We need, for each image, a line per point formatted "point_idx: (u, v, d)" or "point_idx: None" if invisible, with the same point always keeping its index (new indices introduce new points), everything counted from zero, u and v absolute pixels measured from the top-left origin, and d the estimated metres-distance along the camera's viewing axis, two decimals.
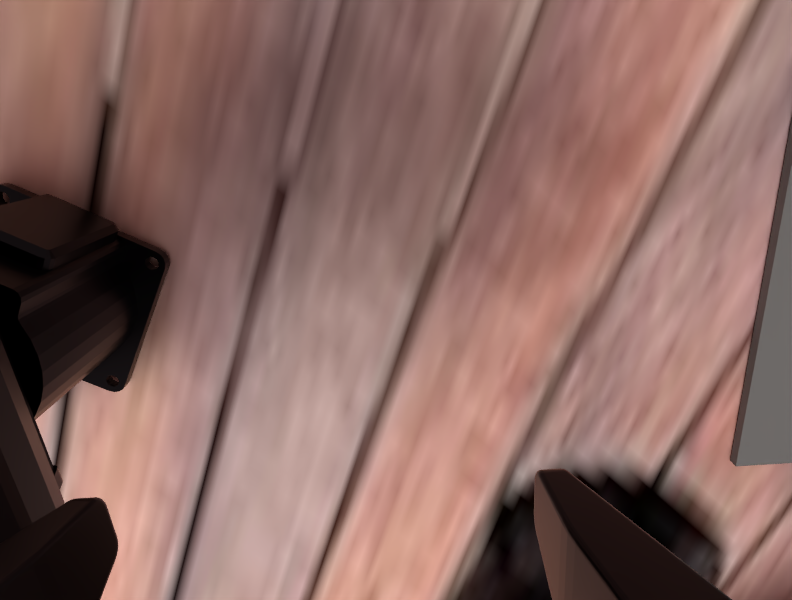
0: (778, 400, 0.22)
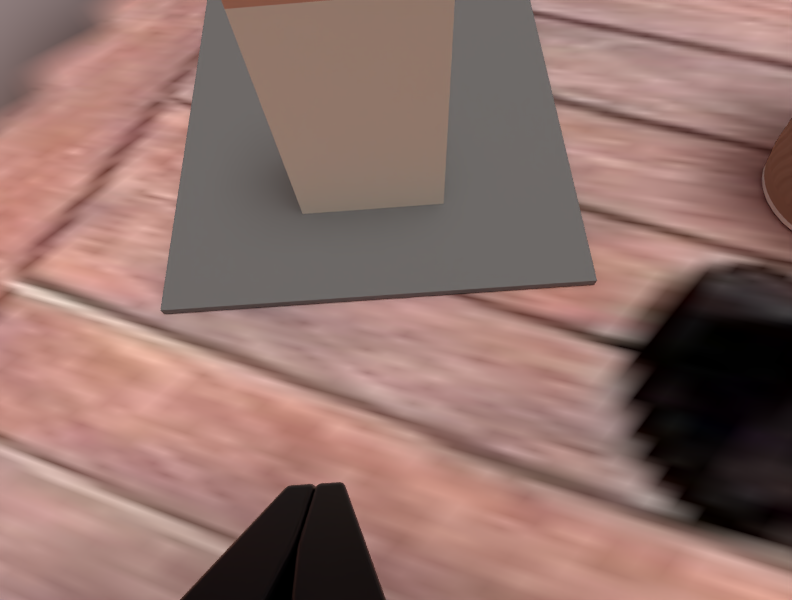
0: (521, 260, 0.24)
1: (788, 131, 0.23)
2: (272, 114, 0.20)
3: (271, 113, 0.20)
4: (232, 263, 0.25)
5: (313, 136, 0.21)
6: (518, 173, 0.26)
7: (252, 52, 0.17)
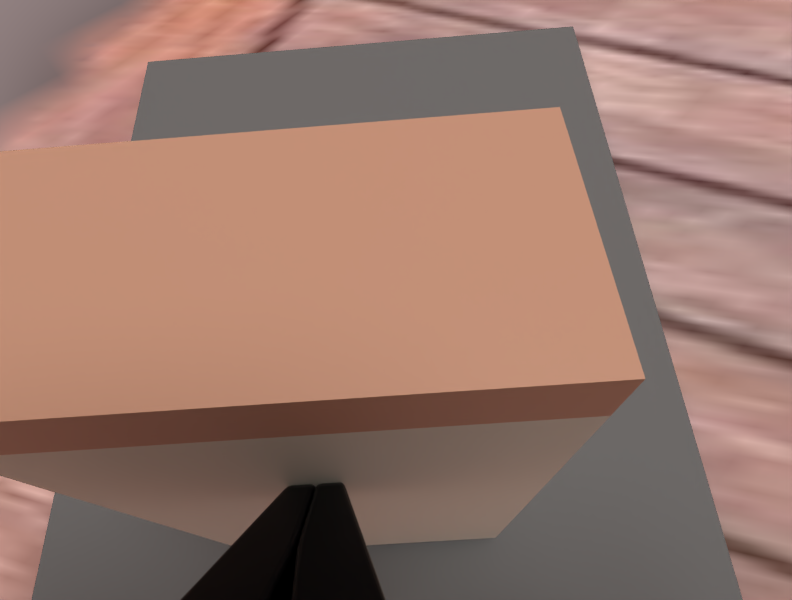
0: None
1: None
2: (158, 517, 0.09)
3: (155, 516, 0.09)
4: None
5: None
6: (617, 477, 0.16)
7: (68, 486, 0.07)
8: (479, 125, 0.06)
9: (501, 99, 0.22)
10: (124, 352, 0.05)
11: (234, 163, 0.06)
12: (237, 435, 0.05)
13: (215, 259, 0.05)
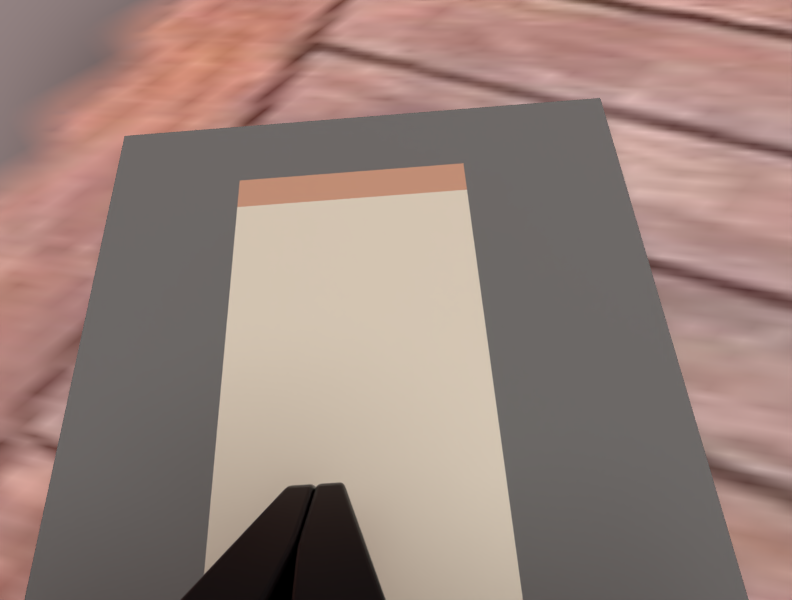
0: None
1: None
2: (236, 339, 0.14)
3: (234, 339, 0.14)
4: None
5: (282, 384, 0.13)
6: None
7: (245, 251, 0.15)
8: None
9: (521, 186, 0.20)
10: None
11: None
12: (341, 195, 0.16)
13: None
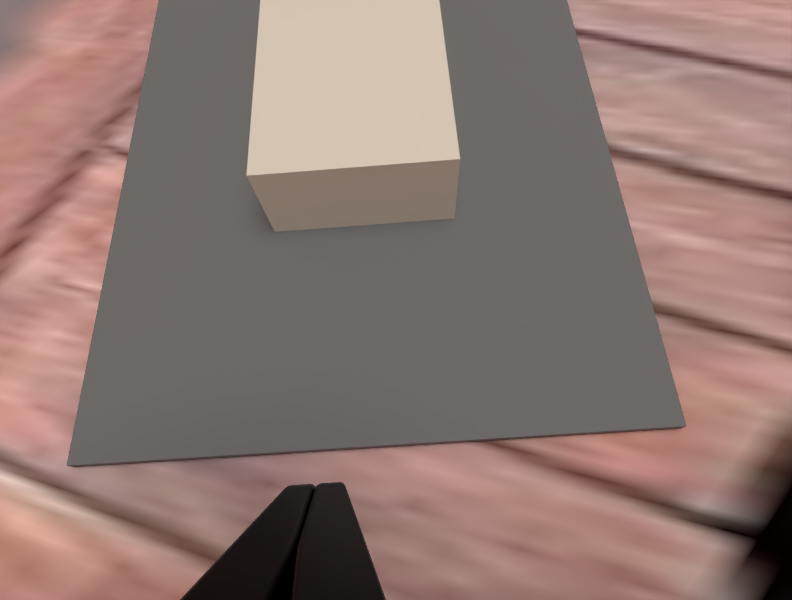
0: (576, 393, 0.17)
1: None
2: (266, 32, 0.20)
3: (264, 32, 0.20)
4: (171, 392, 0.18)
5: (298, 54, 0.19)
6: (566, 259, 0.19)
7: None
8: None
9: None
10: None
11: None
12: None
13: None
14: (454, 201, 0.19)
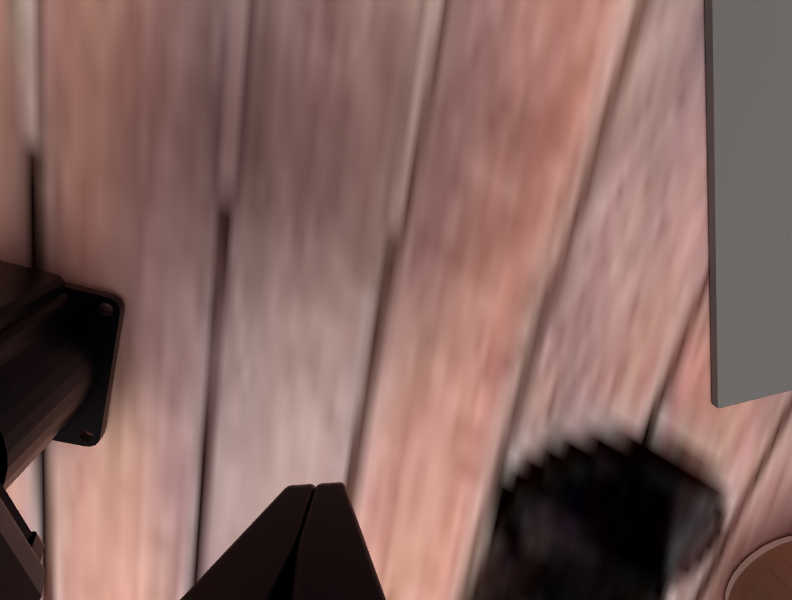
0: (745, 337, 0.22)
1: None
2: None
3: None
4: None
5: None
6: None
7: None
8: None
9: None
10: None
11: None
12: None
13: None
14: None
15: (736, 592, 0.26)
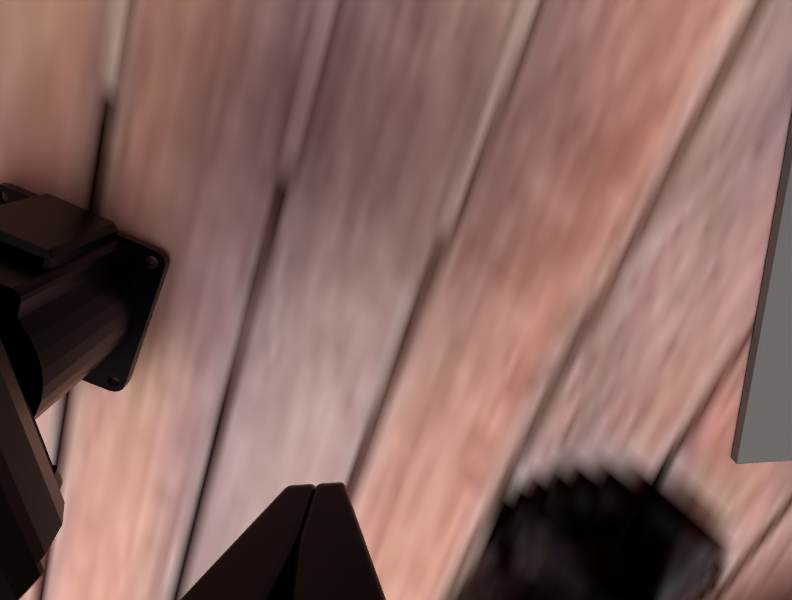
0: (779, 397, 0.22)
1: None
2: None
3: None
4: None
5: None
6: None
7: None
8: None
9: None
10: None
11: None
12: None
13: None
14: None
15: None
